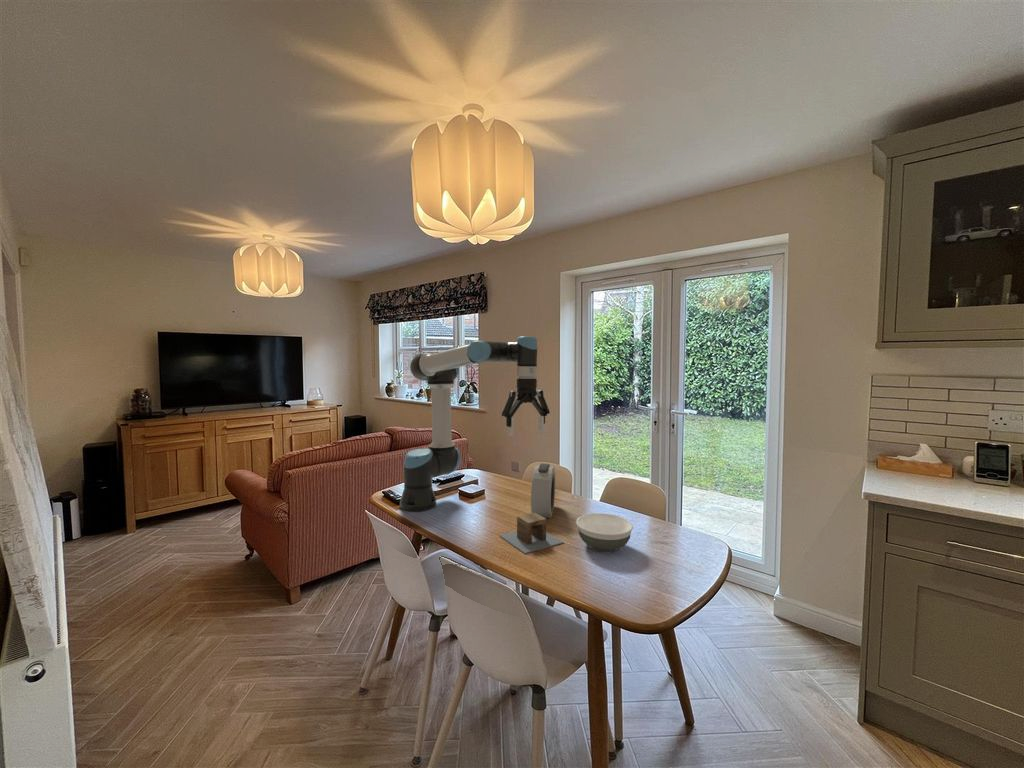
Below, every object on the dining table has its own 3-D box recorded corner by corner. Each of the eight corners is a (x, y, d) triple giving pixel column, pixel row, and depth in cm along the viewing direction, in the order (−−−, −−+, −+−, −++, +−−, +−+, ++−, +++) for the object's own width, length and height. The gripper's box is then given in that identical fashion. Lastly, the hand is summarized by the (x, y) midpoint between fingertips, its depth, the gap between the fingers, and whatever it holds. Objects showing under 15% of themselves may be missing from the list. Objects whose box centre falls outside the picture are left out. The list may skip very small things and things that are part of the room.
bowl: (622, 565, 131) (623, 539, 130) (566, 550, 141) (567, 525, 140) (639, 543, 147) (639, 520, 146) (588, 531, 156) (588, 509, 156)
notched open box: (528, 544, 143) (528, 523, 143) (516, 537, 149) (517, 516, 149) (546, 540, 147) (546, 518, 147) (534, 532, 153) (534, 512, 153)
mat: (499, 536, 151) (499, 535, 151) (536, 527, 159) (536, 526, 159) (524, 554, 137) (524, 552, 137) (563, 543, 146) (563, 542, 146)
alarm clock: (549, 522, 165) (550, 471, 164) (530, 520, 166) (531, 470, 165) (555, 504, 186) (555, 459, 184) (538, 502, 187) (538, 458, 186)
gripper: (503, 378, 150) (502, 438, 151) (559, 377, 163) (558, 432, 164) (492, 377, 156) (492, 435, 157) (547, 377, 169) (546, 429, 170)
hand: (526, 434), depth 161 cm, fingers open, 13 cm apart
